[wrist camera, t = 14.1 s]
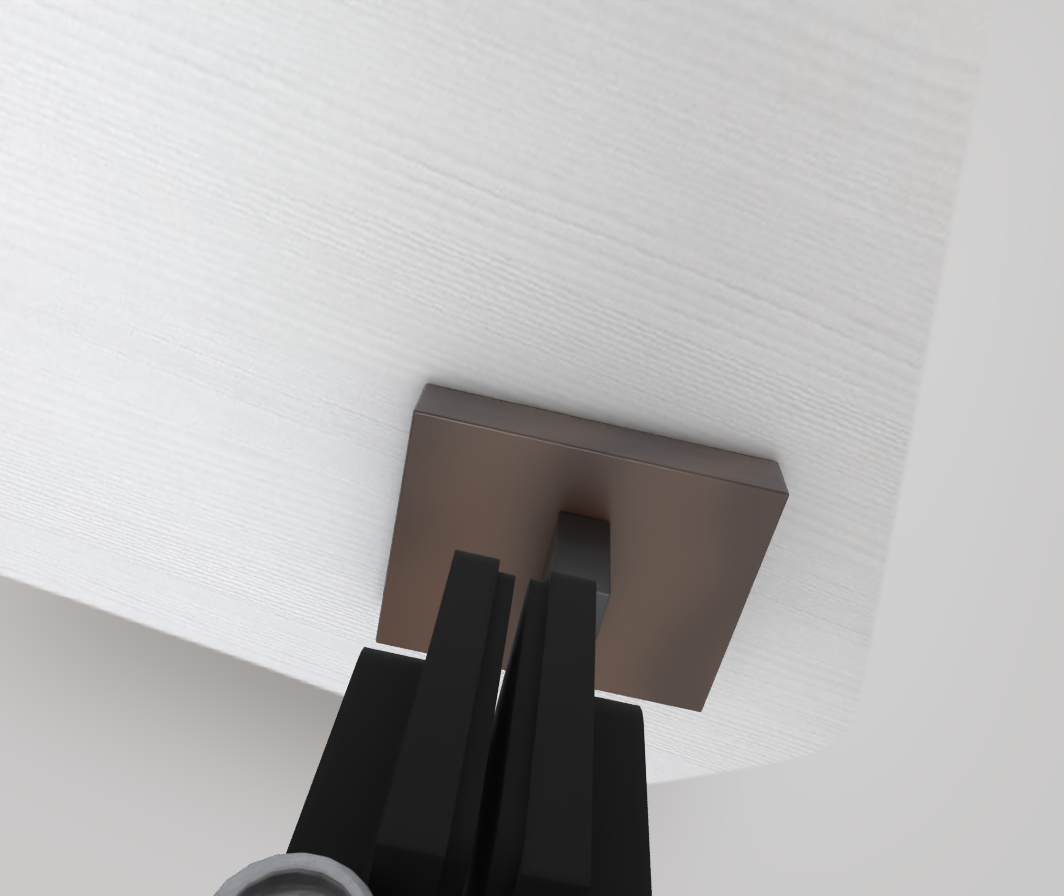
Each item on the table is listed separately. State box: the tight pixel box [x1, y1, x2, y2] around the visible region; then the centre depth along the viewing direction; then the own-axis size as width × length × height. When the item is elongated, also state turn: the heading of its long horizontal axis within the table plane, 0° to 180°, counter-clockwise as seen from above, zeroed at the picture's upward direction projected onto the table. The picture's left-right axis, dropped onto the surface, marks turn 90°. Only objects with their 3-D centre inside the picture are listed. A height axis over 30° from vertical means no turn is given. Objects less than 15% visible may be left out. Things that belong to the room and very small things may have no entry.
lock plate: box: [376, 384, 789, 712], centre depth 36 cm, size 14×11×2 cm
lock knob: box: [541, 512, 611, 643], centre depth 33 cm, size 6×2×5 cm, turn 168°
